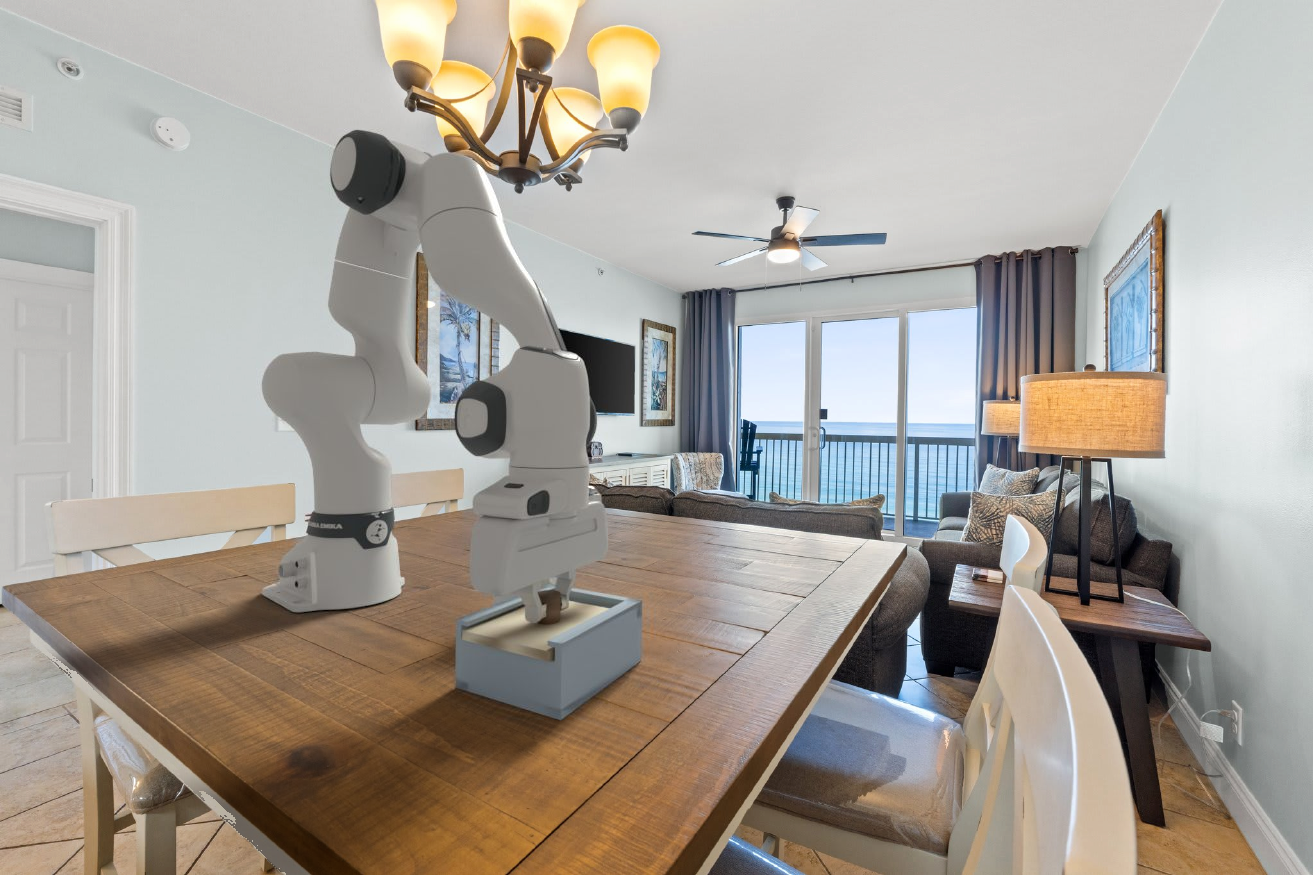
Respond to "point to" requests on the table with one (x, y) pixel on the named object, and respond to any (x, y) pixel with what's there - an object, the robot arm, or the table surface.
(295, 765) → the table surface
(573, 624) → the lid
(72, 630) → the table surface
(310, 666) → the table surface
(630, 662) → the box
